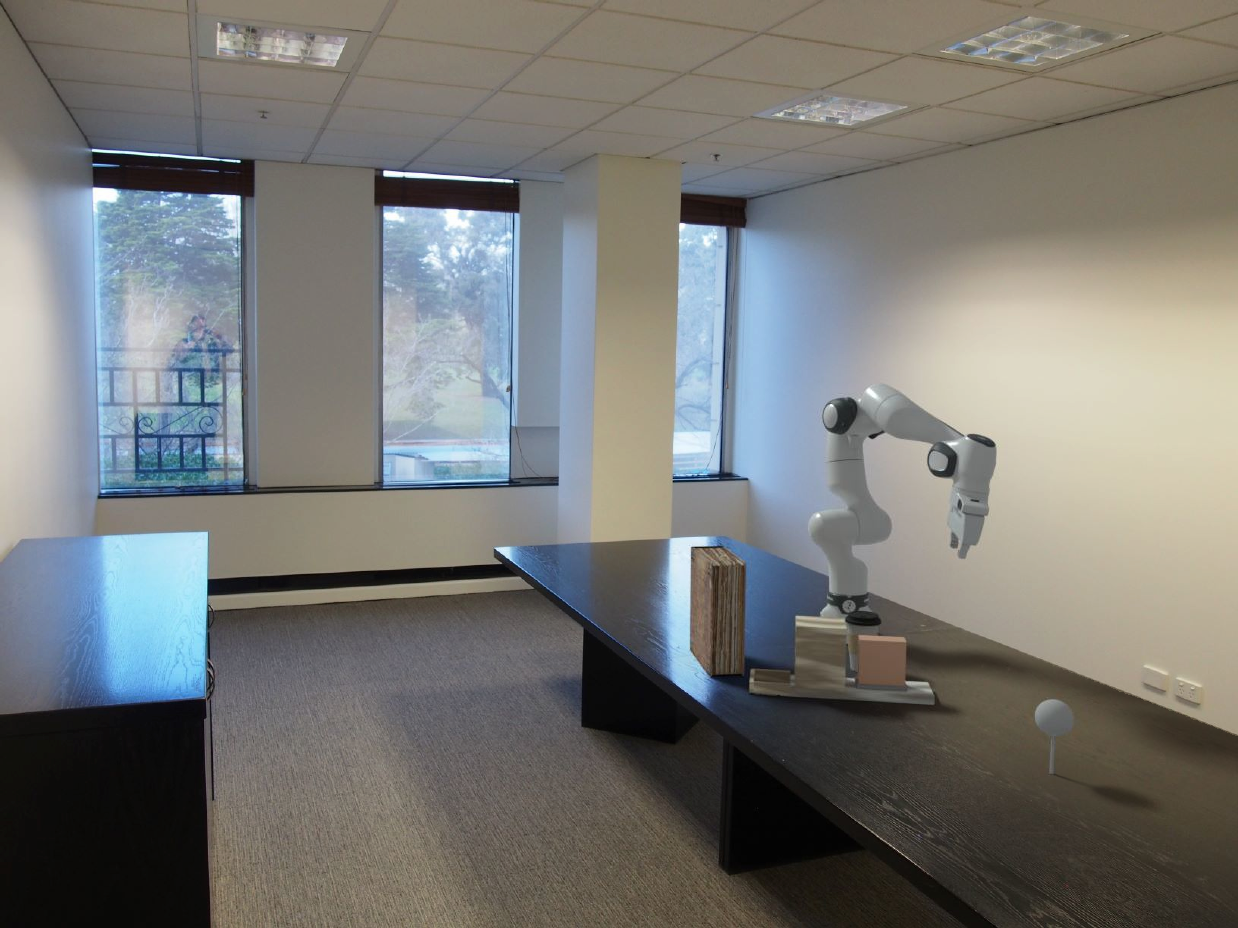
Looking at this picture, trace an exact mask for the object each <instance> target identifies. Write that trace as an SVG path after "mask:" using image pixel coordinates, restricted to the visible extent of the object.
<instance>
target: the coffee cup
mask: <svg viewBox="0 0 1238 928" xmlns="http://www.w3.org/2000/svg"><path fill="white" fill-rule="evenodd" d="M845 622H847V626H848V630H847V634H848V644H847V645H848V646H847V647H848V648H847V649H848V652H849V663H850V664H849V666H850V670H851V671H852V672H856V673H857V669H858V637H859V635H869V636H879V627H880V625H882V619H881V618H880V616H879V614H878V613H876V612H874V611H872V612H869V611H852V612H849V613H848V616H847V617H846V619H845Z"/></svg>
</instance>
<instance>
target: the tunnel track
mask: <svg viewBox="0 0 1238 928" xmlns="http://www.w3.org/2000/svg"><path fill="white" fill-rule="evenodd" d="M794 628H795V629H794V631H795V633H794V666H793V667H794V668H793V669H794V671H793V674H791V670H781V669H767V668H765V669H762V668H761V669H760V668H751V669H750V673H749V674H750V675H749V684H748V685H749V687H748V690H749V691H748V693H755V694H754V695H760V694H761V695H762V696H777V695H780V696H781V697H795V698H796V697H797V698H812V699H813V698H814V699H828V700H829V699H830V700H831V699H832V700H845V701H846V700H847V701H849V700H850V701H863V702H864V701H866V702H868V701H869V702H881V703H897V704H911V705H912V704H916V705H918V704H919V705H935V697H936V696H935V694H934V692H933V690H932V688H931V686H930V685H931V684H930V683H929V682H927V681H913V680H911V681H910V680H908V681H907V680H905V683H906V685H907V691H891V690H874V689H857V688H856V684H855V677H846V663H847V662H846V661H847V644H846V636H847V628H846V624H845V620H844V618H835V617H820V616H813V615H812V616H810V615H809V616H808V615H795V627H794ZM761 695H760V696H761ZM780 696H779V697H780Z"/></svg>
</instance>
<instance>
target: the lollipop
mask: <svg viewBox="0 0 1238 928" xmlns="http://www.w3.org/2000/svg"><path fill="white" fill-rule="evenodd" d="M1034 720H1035V723H1036V725H1037V727H1038V728H1039V730H1040V731H1042V732H1043V733H1044V734H1046V735H1048V736H1050V737H1051V738H1050V739H1051V740H1050V759H1049V774H1050V775H1054V769H1055V767H1054V764H1055V750H1056V749H1055V748H1056V747H1055V744H1056V737H1062V736H1065V735H1066V734H1068V733H1070V731H1071V730H1073V729H1072V728H1073V726H1074V723H1075V717H1074V713H1073V711H1072V709H1071V708H1070V706H1069V705H1068V704H1067V703H1065V702H1063V701H1061V700H1059V699H1047V700H1043V701H1042V702H1041V703H1040V704H1039V705H1037V707H1036V709H1035V712H1034Z"/></svg>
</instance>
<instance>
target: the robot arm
mask: <svg viewBox="0 0 1238 928" xmlns="http://www.w3.org/2000/svg"><path fill="white" fill-rule="evenodd" d="M822 410H823V411H822V414H821V415H822V416H821V417H822V423H823V426H824V428H825V429H826V431H828V432H827V434H826V442H825V469H826V481H827V487H828V490H829V491H830V492H831V493H832V494H833V495H835V496H837V497H839V498H840V499H841V500H842V501H843V503H844V506H845V508H832V509H831V508H830V509H825V510H821V511H817V512H814V513H812V515H811V517H810V519H809V520H808V523H807V532H808V535H809V539H811V541H812V542H813V543H814V544H815V545H817V547H819V548H820V549H821V551H822V552H823V554H824V556H825V558H826V561H827V565H828V577H829V578H828V584H829V585H828V587H829V588H828V590H827V594H826V602H827V605H826V606H825V607H823V609H822V610H821V611H820V613H819V617H835V618H844V620H845V619H846V617H847V616H848V613H849V612H852V611H869V612H873V611H872V609H870V608H869V601H870V597H869V592H868V581H869V580H868V579H869V578H868V577H869V576H868V575H869V573H868V572H869V569H868V566H867V565H866V563H865V562H863V560H861V559H860V558H857V557H855V555H854V554H853V549H852V547H853V546H868V545H869V546H870V545H876V544H880V543H883V542H885V541H887V540H888V539H889V537H890V536H891V534H892V529H893V523H892V519H891V517H890V515H889V514H888V512H887V511H885V510H884V509H883V508H881V507H880V506H879V505H878V504H877V503H876V501H875V500H874V499H873V497H872V495H871V492H870V490H869V487H868V483H867V478H866V477H867V476H866V468H865V457H864V449H863V448H864V447H863V446H864V442H865V440H866V439H867V438H869V439H870V440H875V439H876V438H877V437H878V436H881V435H883V434H888V435H890V436H892V437H893V438H896V439H899V440H904V441H905V440H906V441H913V442H914V441H915V442H921V443H927V444H931V445H932V446H931V448H930V449H929V450H928V452H927V453H928V454H927V457H926V465H927V467H928V470H929V472H930V473H931V474H932V475H933V476H935V477H937V478H940V479H945V480H946V479H947V480H952V481H953V482H952V486H951V491H950V495H949V500H948V503H949V504H950V507H949V510H948V515H947V518H946V525H947V527H948V528H949V529H950V540H949V541H950V542H949V547H950V549H954V550H955V549H957V557H958V559H959V560H961V559H962V560H965V559H966V558H967V554H968V551H970V548H971V546H974V547H975V546H977V544H978V543H980V542H979V541H980V540H981V539H980V538H981V535H982V532H983V528H984V525H985V517H988V516H989V511H990V506H989V496H990V490H991V489H990V485H991V484H990V483H991V480H992V478H993V477H994V473H995V469H996V464H997V444H996V443H995V441H994V440H993V439H992V438H990V437H987V436H986V435H981V434H977V433H968V434H965V435H964V434H963V433H961V432H960V431H958V430H956V429H955V428H954V427H952V426H950V425H949V424H948V423H945V422H944V421H942V420H941V419H939V418H938V417H936V416H934V415H933V414H931V413H929V412H928V411H926V410H925V409H924V408H922V407H921V406H919V405H918V404H917V403H915V402H914V401H913V400H911V399H910V398H909V397H907V395H905V394H903V393H902V392H901V391H899V390H897V389H896V388H894V387H892V386H890V385H888V384H885V383H882V382H878V383H873V384H871V385H870V386H867V388H865V390H864V391H863V393H862V395H861V396H857V397H851V396H849V397H848V396H847V397H845V396H844V397H837V398H833V399H830V400H829V401H828V402H826V404H825V405H824V408H823V409H822ZM959 541H960V542H959ZM959 544H960V547H959ZM958 548H959V549H958ZM845 624H846V628H847V630H848V626H847V622H845ZM846 645H848V634H847V636H846Z"/></svg>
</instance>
